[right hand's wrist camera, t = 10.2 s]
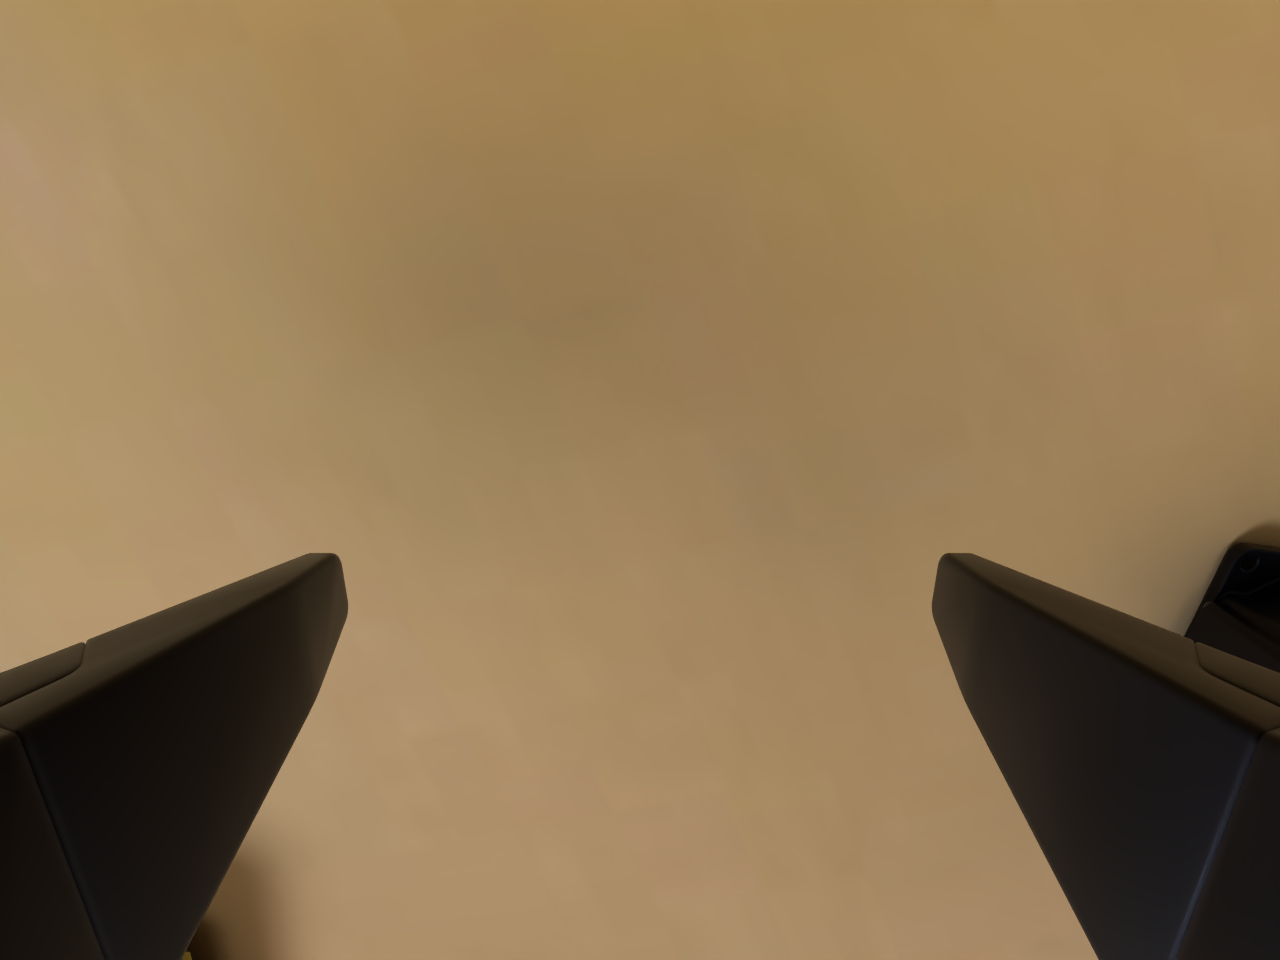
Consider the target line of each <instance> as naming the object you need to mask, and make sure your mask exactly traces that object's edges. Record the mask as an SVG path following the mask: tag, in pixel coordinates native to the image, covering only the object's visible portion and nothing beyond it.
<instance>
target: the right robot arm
mask: <svg viewBox="0 0 1280 960" xmlns="http://www.w3.org/2000/svg"><path fill="white" fill-rule="evenodd" d="M1247 557H1248V559H1247V560H1246V561H1245V562H1244V563H1242V561H1243V560H1244V559H1245V558H1247ZM347 613H348V599H347V593H346V587H345V581H344V575H343V569H342V564H341V561H340V559H339V557H338V556H337V555H336V554H333V553H309V554H306V555H303V556H301V557H298V558H295V559H293V560H290V561H288V562H285V563H283V564H280V565H278V566H275V567H272V568H270V569H267V570H265V571H262V572H260V573H257V574H255V575H252V576H249V577H247V578H244V579H242V580H239V581H237V582H234V583H232V584H229V585H226V586H224V587H221V588H219V589H216V590H214V591H211V592H209V593H206V594H203V595H201V596H198V597H196V598H193V599H191V600H188V601H186V602H183V603H180V604H178V605H175V606H173V607H170V608H168V609H165V610H163V611H160V612H157V613H155V614H152V615H150V616H147V617H145V618H142V619H140V620H137V621H134V622H132V623H129V624H127V625H124V626H122V627H119V628H117V629H114V630H111V631H109V632H106V633H104V634H101V635H99V636H96V637H94V638H91V639H89V640H87V642H86V644H85V643H83V642H81V643H78V644H75V645H73V646H70V647H68V648H65V649H63V650H60V651H57V652H55V653H52V654H50V655H47V656H44V657H42V658H39V659H36V660H34V661H31V662H29V663H26V664H23V665H21V666H18V667H15V668H13V669H10V670H7V671H5V672H2V673H0V960H181V959H182V957H183V955H184V953H185V951H186V950H187V948H188V946H189V944H190V942H191V940H192V938H193V936H194V934H195V932H196V930H197V928H198V926H199V924H200V923H201V921H202V919H203V917H204V915H205V913H206V911H207V909H208V907H209V905H210V903H211V901H212V899H213V897H214V896H215V894H216V892H217V890H218V888H219V886H220V884H221V882H222V880H223V878H224V876H225V874H226V872H227V870H228V869H229V867H230V865H231V863H232V861H233V859H234V857H235V855H236V853H237V851H238V849H239V847H240V845H241V843H242V842H243V840H244V838H245V836H246V834H247V832H248V830H249V828H250V826H251V824H252V822H253V820H254V818H255V816H256V815H257V813H258V811H259V809H260V807H261V805H262V803H263V801H264V799H265V797H266V795H267V793H268V791H269V789H270V788H271V786H272V784H273V782H274V780H275V778H276V776H277V774H278V772H279V770H280V768H281V766H282V764H283V763H284V761H285V759H286V757H287V755H288V753H289V751H290V749H291V747H292V745H293V743H294V741H295V739H296V737H297V736H298V734H299V732H300V730H301V728H302V726H303V724H304V722H305V720H306V718H307V716H308V714H309V712H310V710H311V708H312V706H313V704H314V702H315V700H316V697H317V695H318V693H319V690H320V688H321V685H322V683H323V680H324V677H325V675H326V672H327V669H328V666H329V664H330V661H331V658H332V656H333V653H334V650H335V648H336V645H337V642H338V640H339V637H340V634H341V632H342V629H343V626H344V624H345V621H346V618H347ZM932 613H933V618H934V621H935V624H936V626H937V629H938V632H939V634H940V637H941V640H942V642H943V645H944V648H945V650H946V653H947V656H948V658H949V661H950V664H951V666H952V669H953V672H954V675H955V677H956V680H957V683H958V685H959V688H960V690H961V693H962V695H963V697H964V700H965V702H966V704H967V706H968V708H969V710H970V712H971V714H972V716H973V718H974V720H975V722H976V724H977V726H978V728H979V730H980V732H981V734H982V736H983V737H984V739H985V741H986V743H987V745H988V747H989V749H990V751H991V753H992V755H993V757H994V759H995V761H996V763H997V764H998V766H999V768H1000V770H1001V772H1002V774H1003V776H1004V778H1005V780H1006V782H1007V784H1008V786H1009V788H1010V790H1011V791H1012V793H1013V795H1014V797H1015V799H1016V801H1017V803H1018V805H1019V807H1020V809H1021V811H1022V813H1023V815H1024V816H1025V818H1026V820H1027V822H1028V824H1029V826H1030V828H1031V830H1032V832H1033V834H1034V836H1035V838H1036V840H1037V842H1038V843H1039V845H1040V847H1041V849H1042V851H1043V853H1044V855H1045V857H1046V859H1047V861H1048V863H1049V865H1050V867H1051V869H1052V870H1053V872H1054V874H1055V876H1056V878H1057V880H1058V882H1059V884H1060V886H1061V888H1062V890H1063V892H1064V894H1065V896H1066V897H1067V899H1068V901H1069V903H1070V905H1071V907H1072V909H1073V911H1074V913H1075V915H1076V917H1077V919H1078V921H1079V923H1080V924H1081V926H1082V928H1083V930H1084V932H1085V934H1086V936H1087V938H1088V940H1089V942H1090V944H1091V946H1092V948H1093V950H1094V951H1095V953H1096V955H1097V957H1098V959H1099V960H1280V548H1276V547H1269V546H1262V545H1255V544H1248V543H1243V544H1238V545H1236V546H1234V547H1232V548H1231V549H1229V550H1228V552H1227V553H1226V554H1225V556H1224V558H1223V560H1222V562H1221V564H1220V566H1219V568H1218V570H1217V572H1216V574H1215V576H1214V578H1213V580H1212V582H1211V584H1210V586H1209V588H1208V590H1207V592H1206V594H1205V596H1204V598H1203V600H1202V602H1201V604H1200V606H1199V608H1198V610H1197V612H1196V614H1195V616H1194V618H1193V620H1192V622H1191V624H1190V626H1189V628H1188V630H1187V632H1186V634H1185V636H1181V635H1179V634H1176V633H1174V632H1171V631H1169V630H1166V629H1163V628H1161V627H1158V626H1156V625H1153V624H1151V623H1148V622H1146V621H1143V620H1140V619H1138V618H1135V617H1133V616H1130V615H1128V614H1125V613H1123V612H1120V611H1117V610H1115V609H1112V608H1110V607H1107V606H1105V605H1102V604H1100V603H1097V602H1094V601H1092V600H1089V599H1087V598H1084V597H1082V596H1079V595H1077V594H1074V593H1071V592H1069V591H1066V590H1064V589H1061V588H1059V587H1056V586H1054V585H1051V584H1048V583H1046V582H1043V581H1041V580H1038V579H1036V578H1033V577H1031V576H1028V575H1025V574H1023V573H1020V572H1018V571H1015V570H1013V569H1010V568H1008V567H1005V566H1002V565H1000V564H997V563H995V562H992V561H990V560H987V559H985V558H982V557H979V556H977V555H974V554H971V553H947V554H944V555H943V556H942V557H941V559H940V561H939V564H938V569H937V575H936V581H935V587H934V593H933V599H932Z"/></svg>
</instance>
